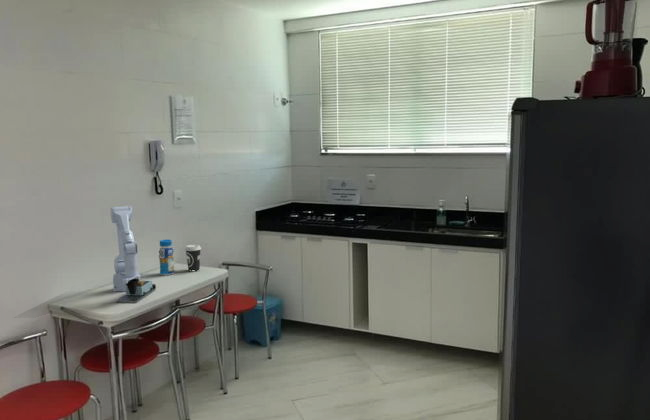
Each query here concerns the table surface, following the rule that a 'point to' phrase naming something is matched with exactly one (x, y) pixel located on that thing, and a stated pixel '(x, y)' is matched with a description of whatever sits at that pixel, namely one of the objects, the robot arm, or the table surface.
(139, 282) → the walnut block
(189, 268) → the coffee cup
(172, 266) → the beverage bottle
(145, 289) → the cart
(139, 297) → the rail
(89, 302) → the table surface
